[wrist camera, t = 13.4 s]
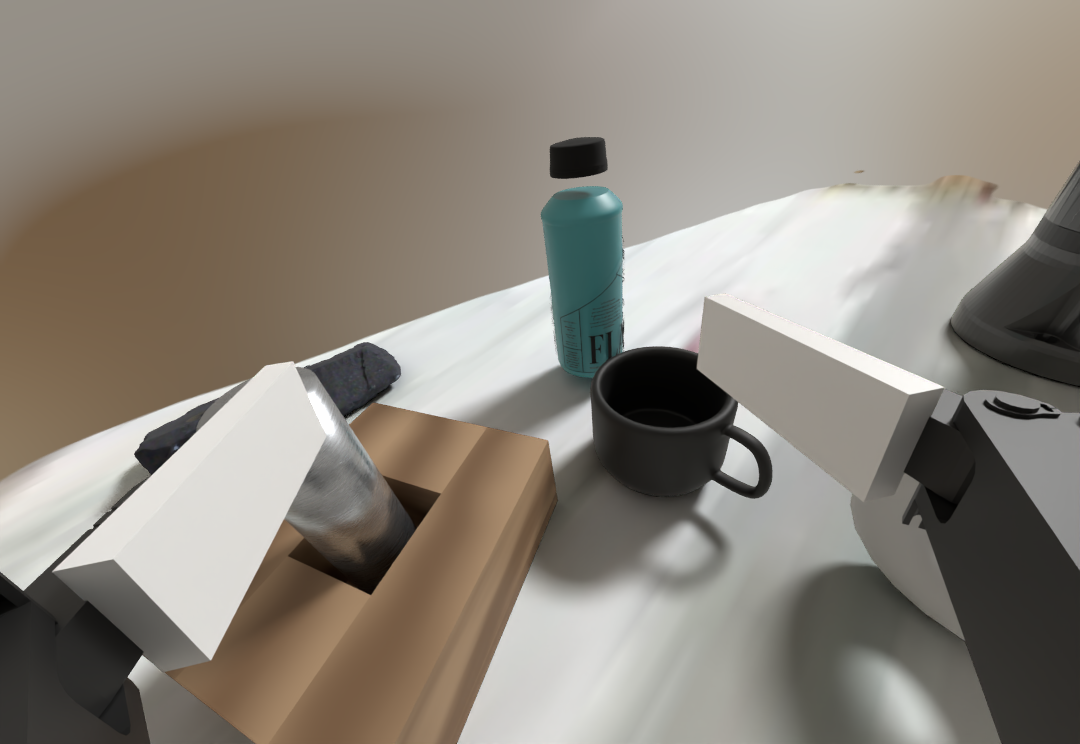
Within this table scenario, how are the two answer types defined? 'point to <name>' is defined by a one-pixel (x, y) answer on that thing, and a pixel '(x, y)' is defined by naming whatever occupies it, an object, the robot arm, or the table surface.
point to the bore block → (389, 597)
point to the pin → (343, 497)
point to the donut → (905, 552)
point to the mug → (667, 424)
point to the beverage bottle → (584, 259)
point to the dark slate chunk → (342, 375)
